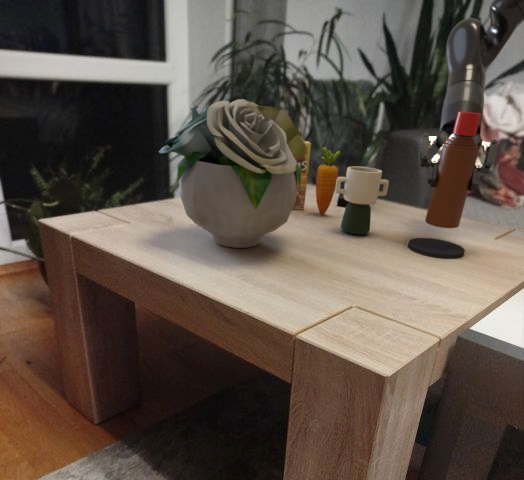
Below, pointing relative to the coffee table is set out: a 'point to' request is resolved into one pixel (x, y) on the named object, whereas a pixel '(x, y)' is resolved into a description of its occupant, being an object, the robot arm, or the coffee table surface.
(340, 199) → the vhs tape
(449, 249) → the coaster
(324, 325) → the coffee table surface
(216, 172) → the flower arrangement
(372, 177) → the cream green handled vessel
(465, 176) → the bottle
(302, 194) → the candy box
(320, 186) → the carrot
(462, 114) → the cap
